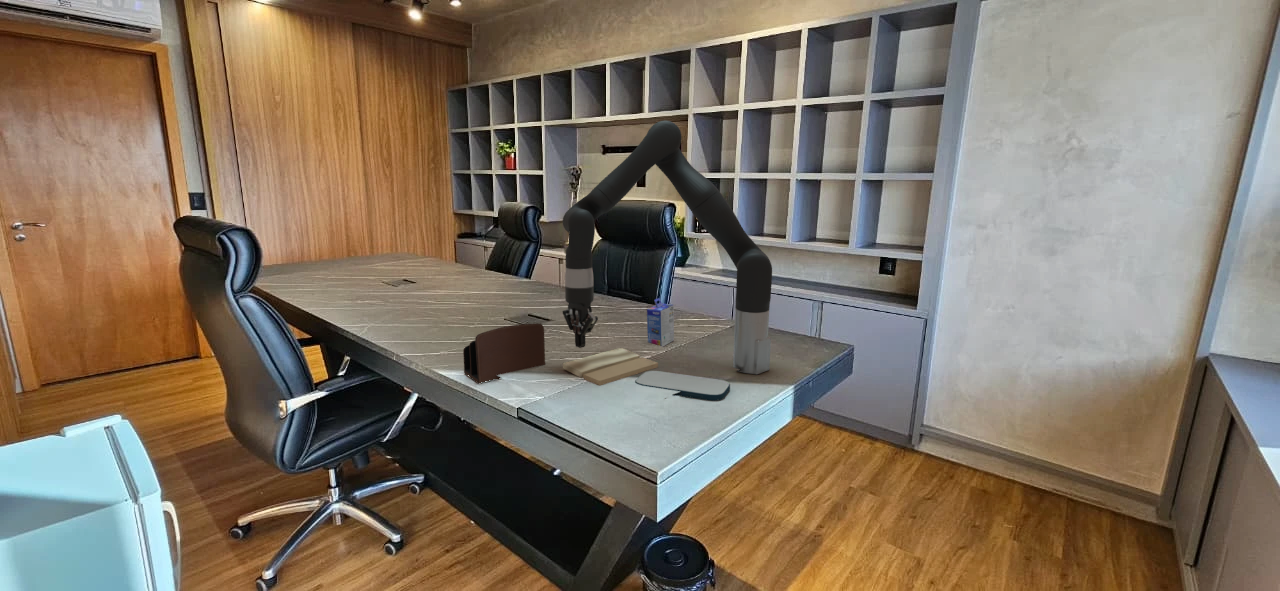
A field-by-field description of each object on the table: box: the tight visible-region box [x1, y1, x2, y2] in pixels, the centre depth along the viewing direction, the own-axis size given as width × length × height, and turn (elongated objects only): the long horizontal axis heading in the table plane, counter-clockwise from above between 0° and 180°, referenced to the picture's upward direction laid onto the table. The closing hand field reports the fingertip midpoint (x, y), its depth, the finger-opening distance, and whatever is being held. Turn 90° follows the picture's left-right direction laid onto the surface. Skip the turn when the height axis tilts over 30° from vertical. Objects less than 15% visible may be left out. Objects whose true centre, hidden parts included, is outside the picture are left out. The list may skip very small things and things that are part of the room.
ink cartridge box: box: [646, 297, 675, 347], centre depth 186 cm, size 10×6×14 cm, turn 152°
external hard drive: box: [634, 370, 731, 402], centre depth 147 cm, size 24×12×2 cm, turn 68°
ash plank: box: [562, 347, 641, 378], centre depth 160 cm, size 8×21×2 cm, turn 134°
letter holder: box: [462, 322, 546, 384], centre depth 158 cm, size 10×20×14 cm, turn 128°
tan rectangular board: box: [582, 357, 659, 386], centre depth 158 cm, size 16×23×2 cm
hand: (580, 346), depth 157 cm, fingers closed
